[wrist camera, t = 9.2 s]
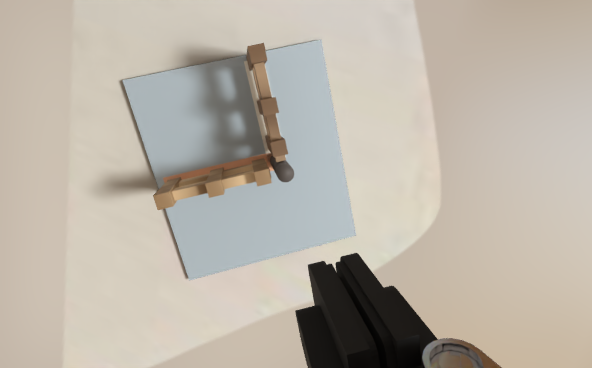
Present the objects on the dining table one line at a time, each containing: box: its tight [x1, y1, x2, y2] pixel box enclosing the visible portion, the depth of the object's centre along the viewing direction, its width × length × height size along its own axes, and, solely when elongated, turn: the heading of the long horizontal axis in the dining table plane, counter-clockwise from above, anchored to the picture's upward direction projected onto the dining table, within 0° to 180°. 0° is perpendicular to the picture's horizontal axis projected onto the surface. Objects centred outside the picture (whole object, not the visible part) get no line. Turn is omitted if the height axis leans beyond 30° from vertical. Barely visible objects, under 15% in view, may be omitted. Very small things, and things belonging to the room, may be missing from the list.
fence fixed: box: [246, 43, 294, 182], centre depth 29 cm, size 10×1×7 cm, turn 12°
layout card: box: [122, 40, 356, 280], centre depth 33 cm, size 20×18×1 cm
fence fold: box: [153, 158, 272, 210], centre depth 29 cm, size 9×1×6 cm, turn 102°
